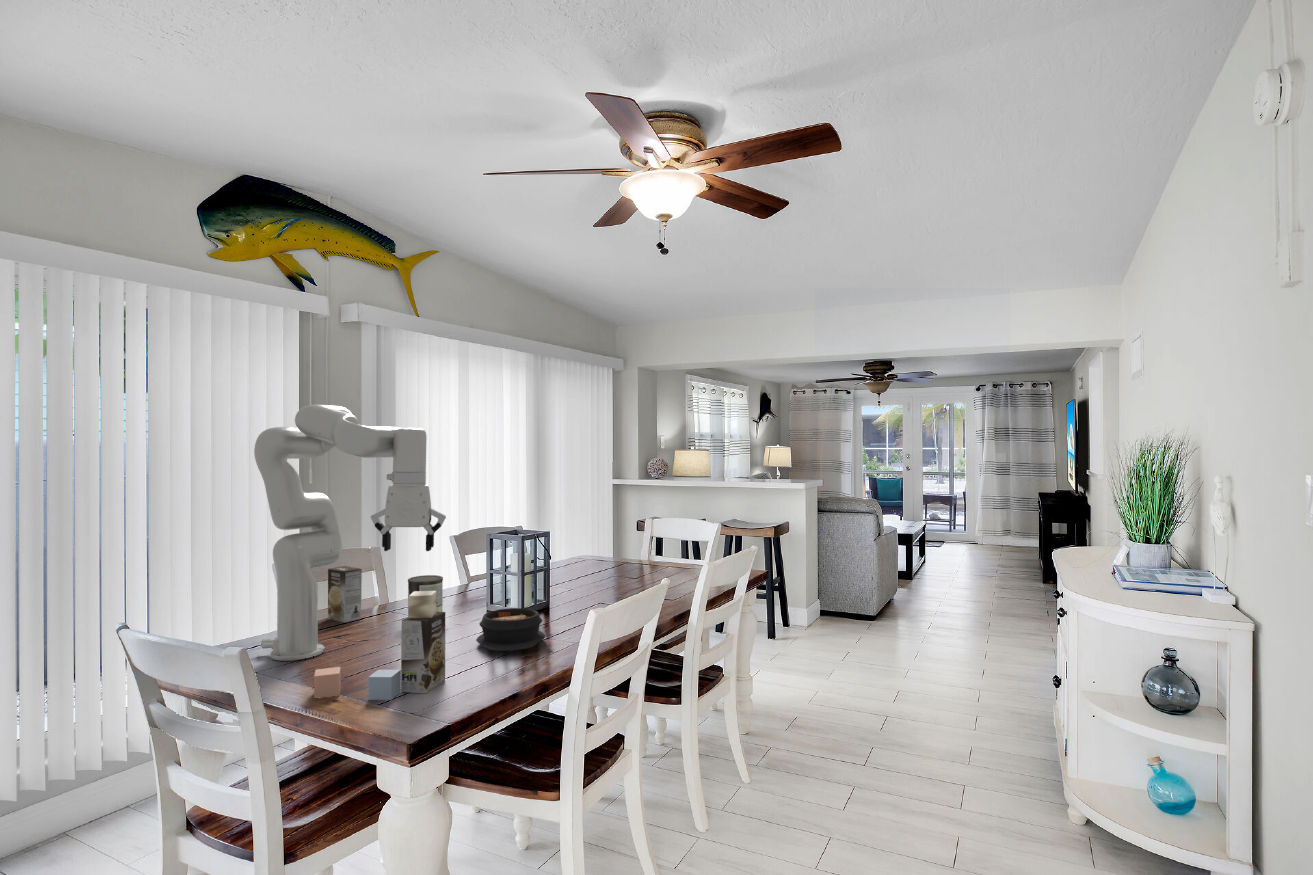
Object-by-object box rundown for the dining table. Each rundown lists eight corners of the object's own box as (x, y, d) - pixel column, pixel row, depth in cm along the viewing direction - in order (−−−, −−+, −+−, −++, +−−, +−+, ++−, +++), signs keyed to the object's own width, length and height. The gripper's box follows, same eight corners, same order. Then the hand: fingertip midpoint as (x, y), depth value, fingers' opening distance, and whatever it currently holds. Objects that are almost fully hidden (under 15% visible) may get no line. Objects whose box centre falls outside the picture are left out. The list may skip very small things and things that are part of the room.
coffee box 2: (426, 694, 154) (426, 620, 155) (399, 692, 156) (400, 619, 156) (446, 680, 163) (446, 611, 164) (421, 678, 165) (421, 609, 165)
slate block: (368, 700, 151) (368, 676, 151) (378, 691, 156) (378, 669, 156) (391, 700, 151) (391, 676, 151) (400, 692, 156) (400, 669, 156)
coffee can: (402, 628, 211) (402, 581, 211) (415, 619, 221) (415, 574, 221) (436, 628, 210) (436, 581, 211) (447, 620, 221) (447, 575, 221)
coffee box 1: (326, 619, 222) (326, 568, 223) (344, 615, 228) (344, 565, 228) (344, 623, 218) (344, 571, 218) (362, 618, 223) (362, 567, 223)
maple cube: (408, 618, 157) (408, 595, 157) (413, 613, 162) (413, 591, 162) (431, 617, 158) (431, 595, 158) (436, 612, 162) (436, 590, 163)
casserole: (477, 634, 204) (477, 605, 204) (542, 630, 208) (542, 602, 208) (474, 660, 179) (474, 627, 179) (548, 655, 183) (548, 622, 183)
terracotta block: (314, 699, 152) (314, 676, 152) (315, 691, 157) (315, 669, 157) (339, 696, 154) (339, 673, 154) (340, 688, 158) (340, 666, 158)
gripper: (367, 479, 164) (365, 552, 164) (443, 480, 166) (441, 553, 166) (376, 477, 172) (375, 547, 172) (449, 478, 174) (447, 548, 174)
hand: (408, 550), depth 169 cm, fingers open, 9 cm apart
